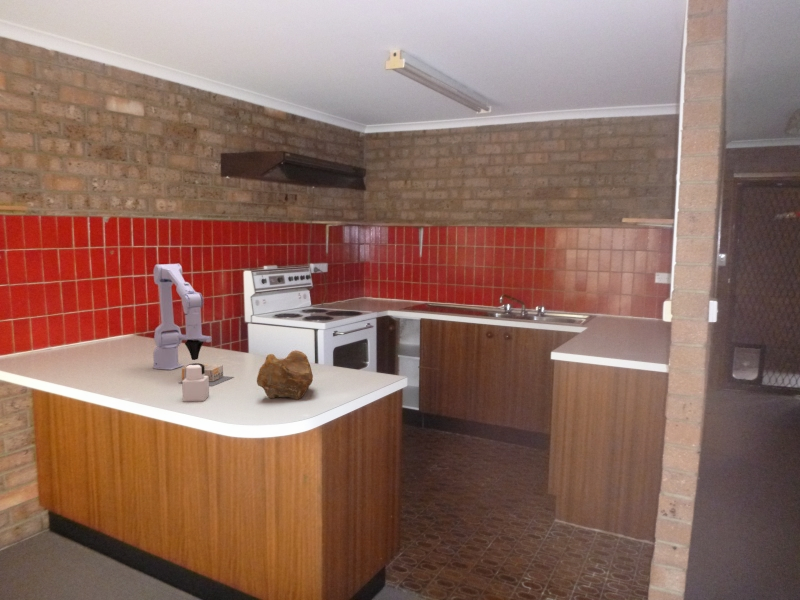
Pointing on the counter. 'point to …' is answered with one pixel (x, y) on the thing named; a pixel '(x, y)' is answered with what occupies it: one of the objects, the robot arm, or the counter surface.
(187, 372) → the medicine bottle
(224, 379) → the mat
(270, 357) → the rough brown rock
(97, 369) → the counter surface
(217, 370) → the supplement box
